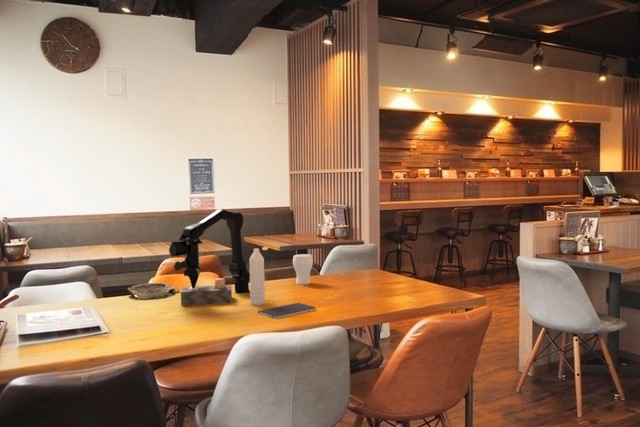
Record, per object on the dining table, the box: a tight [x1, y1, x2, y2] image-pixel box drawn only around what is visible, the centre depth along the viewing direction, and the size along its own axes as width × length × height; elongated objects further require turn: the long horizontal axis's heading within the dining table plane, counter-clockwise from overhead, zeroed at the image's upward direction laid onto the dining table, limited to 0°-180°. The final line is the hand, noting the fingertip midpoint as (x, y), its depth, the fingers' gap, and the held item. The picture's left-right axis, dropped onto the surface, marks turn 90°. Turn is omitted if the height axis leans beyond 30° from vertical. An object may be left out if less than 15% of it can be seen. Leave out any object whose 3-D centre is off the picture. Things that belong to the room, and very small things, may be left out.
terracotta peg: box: [214, 277, 226, 289], centre depth 245 cm, size 4×4×6 cm
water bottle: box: [248, 246, 269, 306], centre depth 238 cm, size 9×6×25 cm
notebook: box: [257, 302, 316, 320], centre depth 223 cm, size 13×2×21 cm
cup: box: [292, 253, 314, 286], centre depth 283 cm, size 11×11×15 cm
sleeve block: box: [180, 284, 233, 306], centre depth 245 cm, size 22×12×6 cm, turn 98°
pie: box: [127, 282, 181, 300], centre depth 264 cm, size 28×27×5 cm
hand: (193, 287), depth 244 cm, fingers closed, pressing on cream peg
